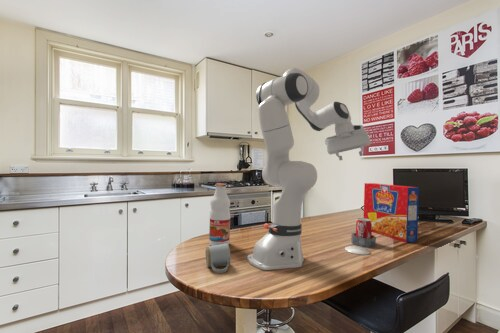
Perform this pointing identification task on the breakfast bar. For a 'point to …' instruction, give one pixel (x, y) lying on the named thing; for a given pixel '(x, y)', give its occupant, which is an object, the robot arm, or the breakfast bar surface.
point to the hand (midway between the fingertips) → (351, 157)
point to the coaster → (357, 250)
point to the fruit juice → (219, 217)
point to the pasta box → (392, 210)
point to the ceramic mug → (218, 257)
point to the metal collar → (363, 241)
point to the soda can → (364, 228)
